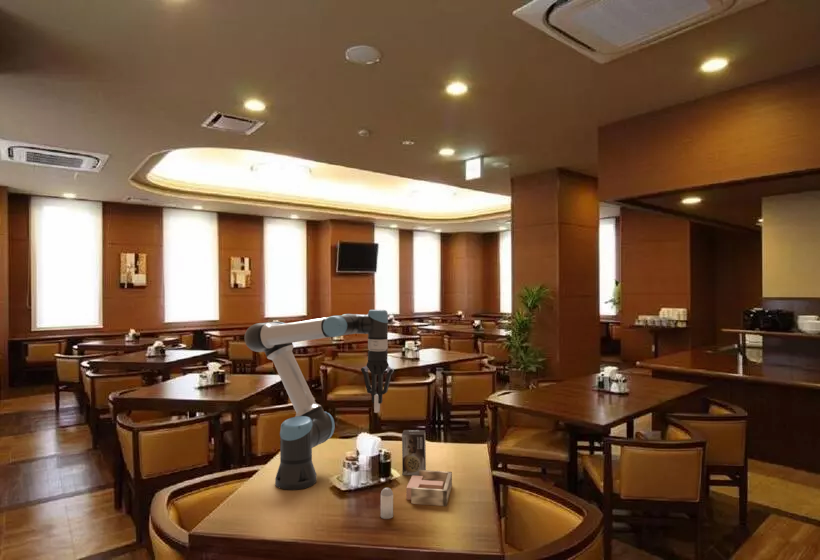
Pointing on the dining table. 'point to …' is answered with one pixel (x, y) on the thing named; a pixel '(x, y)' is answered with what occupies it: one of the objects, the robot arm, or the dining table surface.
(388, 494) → the cylinder
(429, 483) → the t block
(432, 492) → the bay
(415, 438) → the coffee box
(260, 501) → the dining table surface
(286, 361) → the robot arm
